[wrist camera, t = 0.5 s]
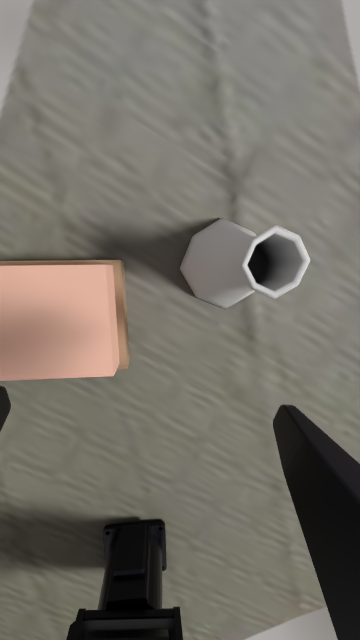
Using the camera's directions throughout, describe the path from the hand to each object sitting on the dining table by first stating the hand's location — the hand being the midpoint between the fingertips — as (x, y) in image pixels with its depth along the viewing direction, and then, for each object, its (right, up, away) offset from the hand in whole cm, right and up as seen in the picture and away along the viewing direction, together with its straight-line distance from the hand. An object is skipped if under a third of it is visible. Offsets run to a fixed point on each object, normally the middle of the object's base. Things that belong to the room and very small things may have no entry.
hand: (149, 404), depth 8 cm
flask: (+5, +8, +13) cm, 16 cm away
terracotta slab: (-8, +3, +11) cm, 14 cm away
